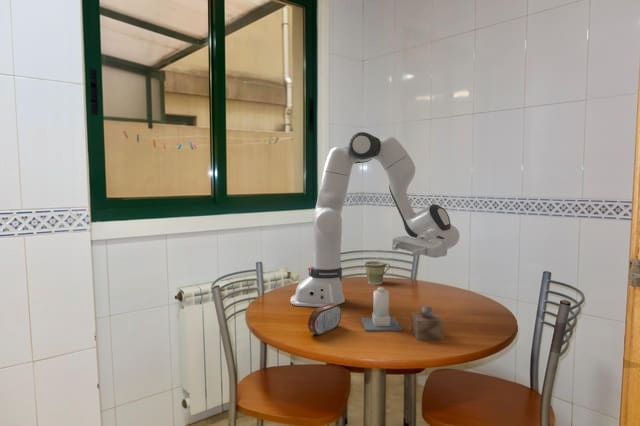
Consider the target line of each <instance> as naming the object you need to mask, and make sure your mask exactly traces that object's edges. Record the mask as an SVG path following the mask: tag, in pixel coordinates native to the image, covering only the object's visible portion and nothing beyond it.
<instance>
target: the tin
mask: <svg viewBox="0 0 640 426" xmlns="http://www.w3.org/2000/svg"><path fill="white" fill-rule="evenodd" d="M341 320H342V308H341V307H340V305H339V304H337V305H335V304H333V303H330V304H327V305H324V306H322V307H316V308H315V309H313V310H312V311H311V313H310V315H309V317H308V321H307V325H308V326H307V328H308V330H309V333H310V334H314V335H318V336H321V335H323V334H325V333H328V332H330V331H332V330H335V329H336V328H337V327H338V326H339V325H340V322H341Z"/></svg>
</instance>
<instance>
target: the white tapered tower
mask: <svg viewBox="0 0 640 426" xmlns="http://www.w3.org/2000/svg"><path fill="white" fill-rule="evenodd" d="M372 292H373V293H372V294H373V300H372V301H373V305H372V306H373V307H372V308H373V309H372V310H373V312H372V313H371V314H372V316H371V318H372V321H373V323H374V326H390V317H391V316H390V303H389V302H390V292H389V290H385V287H381V286H380V287H377V289H375V290H373V291H372Z"/></svg>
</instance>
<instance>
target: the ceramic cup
mask: <svg viewBox="0 0 640 426" xmlns="http://www.w3.org/2000/svg"><path fill="white" fill-rule="evenodd" d="M364 265H365V272H366V278H367V283H368V284H369V285H374V286H377V285H382V284H383V281H384V280H383V279H384V275H385V274H386V273H387V272H388V270H390V268H391V264H390V263H387V262H384V261H380V260H378V261H377V260H371V261H366V262H364ZM387 266H388V268H387V269H385V268H386V267H387Z"/></svg>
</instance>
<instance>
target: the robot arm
mask: <svg viewBox="0 0 640 426" xmlns="http://www.w3.org/2000/svg"><path fill="white" fill-rule="evenodd" d="M371 160H377V161H378V162H379V163H380V164H381V166H382V169H384V170H385V173H386V175H387V177H388V181H389V182H388V183H389V186H388V188H389V192H390V195H391V198H392V201H393V202H394V204H395V207H396V209H397V210H398V213H399V215H400V217H401V219H402V223H403V227H404V230H405V232H406V233H407V235H401V236H396V237H393V238H392V245H391V249H392V250H394V251H398V250H403V251H405V252H410V253H411V255H412V256H426V257H429V258H433V259H435V258H436V259H437V258H441V257H446V256H447V254H448V250H449V249H451V248H453V247H454V246H456V245H457V244H458V243H459V240H460V232H459V229H458V228H457V227H456V226H454V225H453V224H452V223H451V219H450V216H449V213H448V211H446V209H445V208H443V207H442V206H441V205H438V204H434V203H433V204H431V205H429V206H427V207H424V208H423V209H421V210H420V211H418V212H415V211H414V209H413V206H412V204H411V202H410V200H409V198H408V193H407V192H408V187H409V185H410V184H411V182H412V181H413V179H414V177H415V174H416V166H415V165H416V164H415V162H414V160H413V159H412V158H411V156H410V154H409V152H407V150H406V149H405V148H404V146H403V145H402V144H401V143H400V142H399V140H398V139H397V138H395V137H394V136H387V137H384V138H382V139H380V138H378V137H377V136H374V135H372V134H370V133H369V132H364V131H360V132H359V131H358V132H357V133H356V132H355V133H354V134H353V135H352V136H350V138H349V141H348V145H346V146H335V147H332V148H331V149H330V150H329V152H328V155H327V158H326V161H325V164H324V166H323V172H322V177H321V181H320V186H319V191H318V196H317V200H316V204H315V209H314V213H313V218H312V219H313V267H312V266H308V267H307V271H308V276H307V277H306V278H305V279H304V280H301V282H300V283H298V285H297V287H296V290H295V294H293V295H292V296H291V297H290V301H289V303H290V302H291V303H290V304H291V305H292V304H293V305H292V306H294V305H295V307H296V306H298V307H316V308H319V307H322V306H324V305H327V304H330V303H333V304H335V305H342V303H345V301H346V299H345V297H344V293H343V284H342V280H343V270H342V269H343V268H342V266H341V265H342V262H341V261H342V259H341V255H342V254H341V249H342V248H341V246H342V232H343V231H342V229H343V224H342V223H343V220H342V216H341V215H342V211H343V207H344V203H345V200H346V196H347V193H348V188H349V183H350V179H351V173H352V169H353V166H354V164H364V163H367V162H369V161H371Z"/></svg>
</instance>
